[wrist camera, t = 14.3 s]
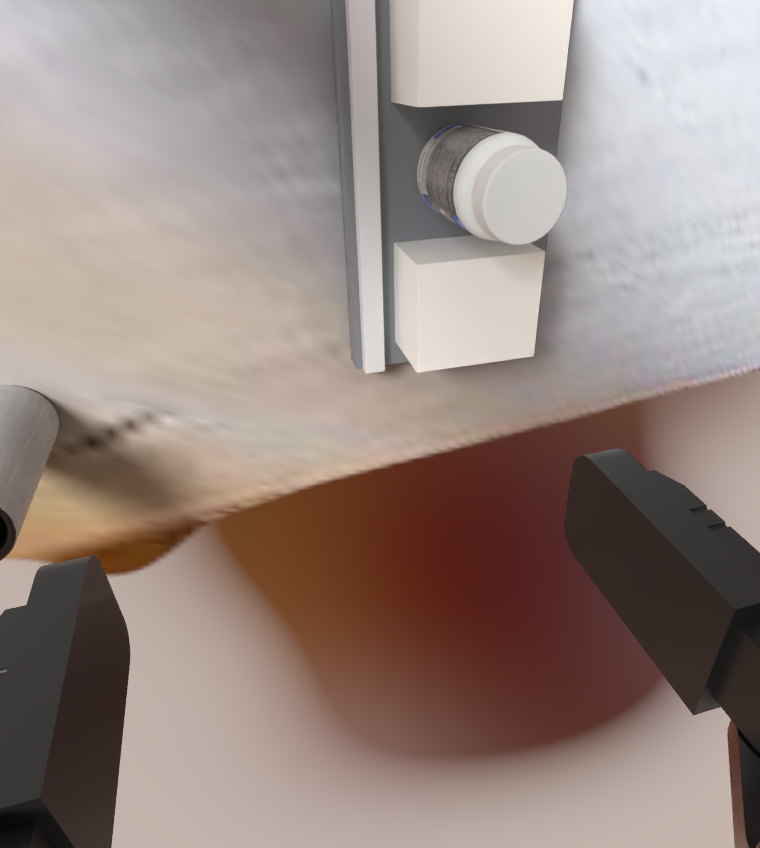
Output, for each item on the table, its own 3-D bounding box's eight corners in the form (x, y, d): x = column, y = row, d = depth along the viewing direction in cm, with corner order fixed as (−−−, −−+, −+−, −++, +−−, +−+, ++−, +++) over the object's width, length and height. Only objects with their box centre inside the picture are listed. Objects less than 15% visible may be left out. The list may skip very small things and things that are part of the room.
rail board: (325, -86, 27) (353, -119, 22) (567, -83, 30) (641, -112, 25) (351, 359, 39) (373, 402, 34) (524, 336, 41) (569, 373, 36)
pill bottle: (411, 215, 33) (467, 255, 26) (418, 120, 31) (481, 136, 24) (490, 215, 35) (564, 253, 28) (503, 124, 32) (587, 140, 25)
